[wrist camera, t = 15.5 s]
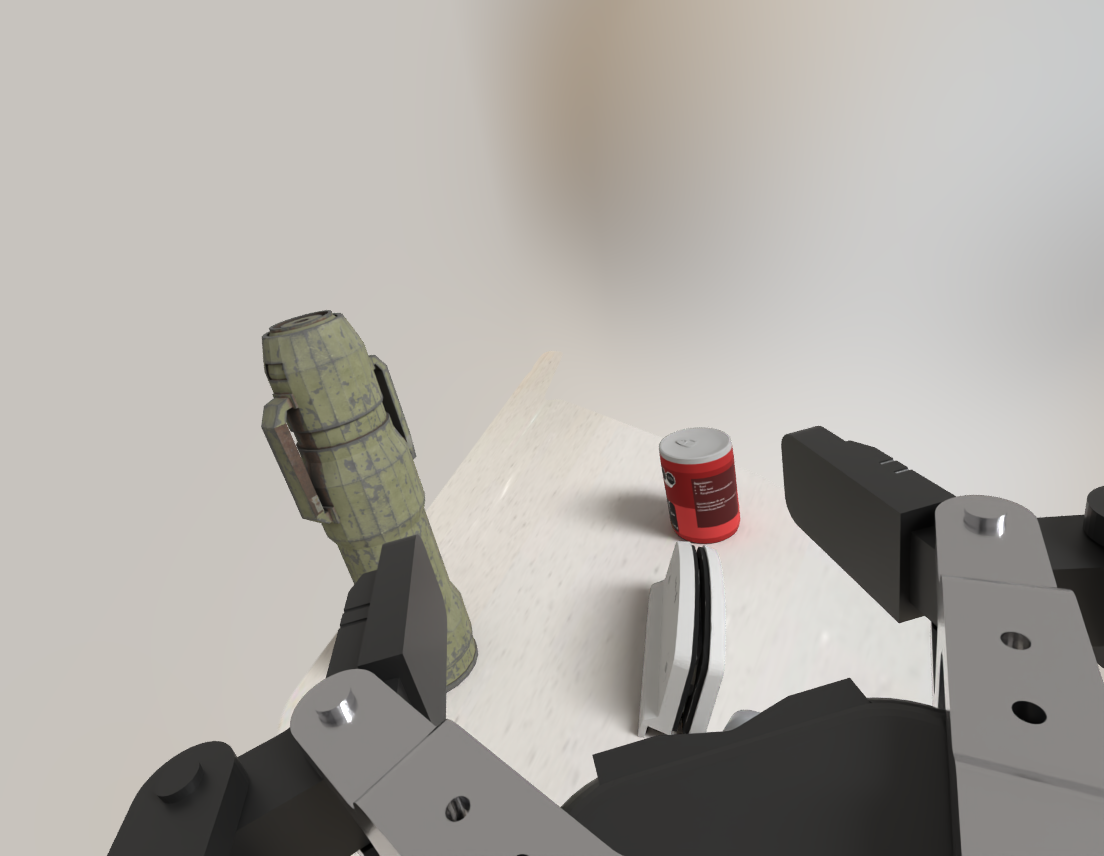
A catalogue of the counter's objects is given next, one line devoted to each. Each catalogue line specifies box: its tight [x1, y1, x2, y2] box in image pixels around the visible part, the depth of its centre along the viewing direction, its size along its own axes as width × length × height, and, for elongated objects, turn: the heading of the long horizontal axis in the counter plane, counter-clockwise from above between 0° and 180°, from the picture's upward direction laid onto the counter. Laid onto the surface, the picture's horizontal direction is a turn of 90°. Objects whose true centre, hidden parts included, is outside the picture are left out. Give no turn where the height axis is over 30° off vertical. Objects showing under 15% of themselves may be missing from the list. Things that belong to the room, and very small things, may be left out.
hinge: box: [638, 541, 726, 738], centre depth 51 cm, size 17×5×10 cm, turn 168°
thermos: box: [261, 310, 478, 693], centre depth 52 cm, size 9×12×35 cm
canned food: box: [659, 428, 740, 544], centre depth 67 cm, size 8×8×11 cm
